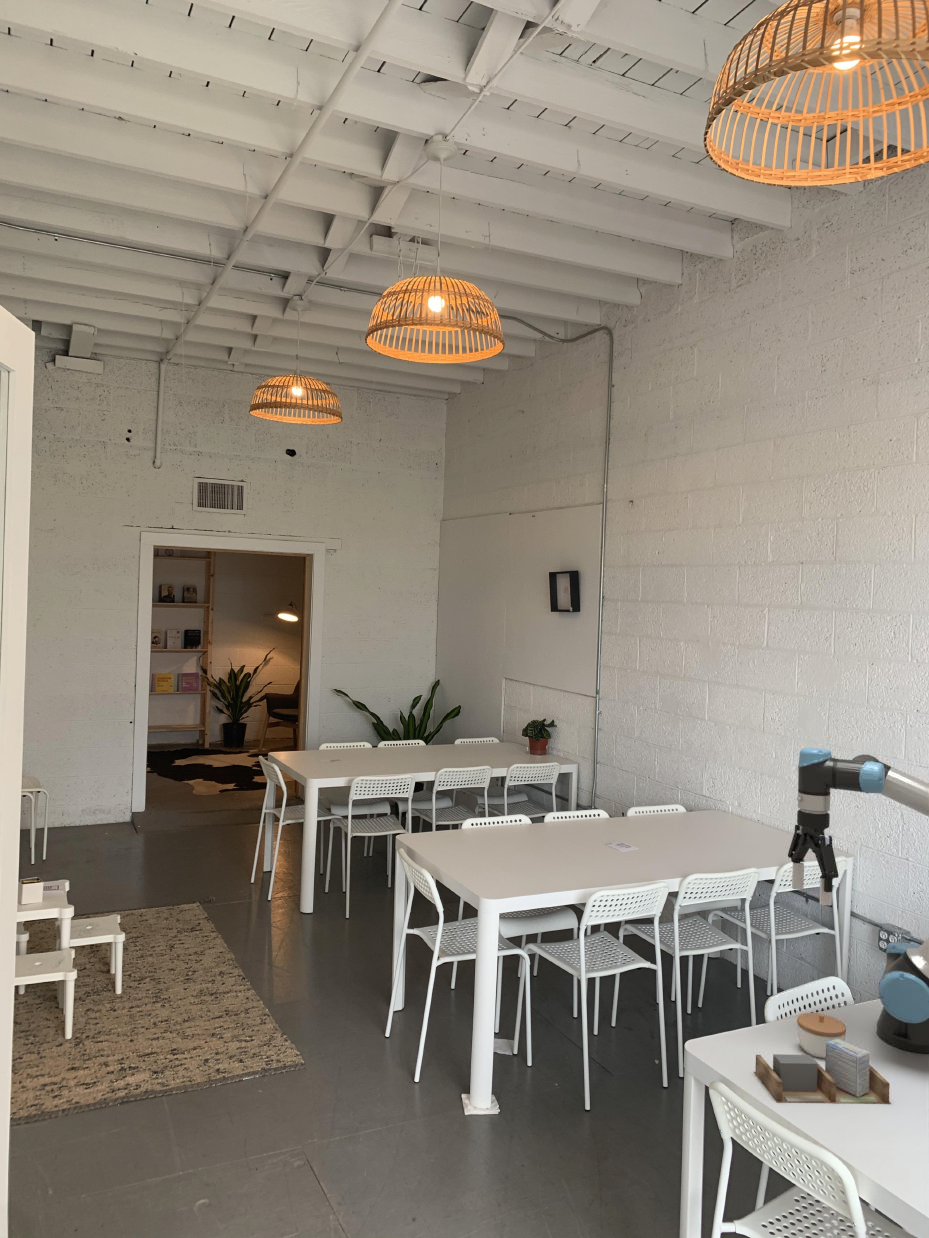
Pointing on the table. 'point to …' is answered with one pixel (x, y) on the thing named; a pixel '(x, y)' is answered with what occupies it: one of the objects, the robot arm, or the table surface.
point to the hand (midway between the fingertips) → (811, 896)
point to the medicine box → (848, 1067)
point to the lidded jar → (818, 1032)
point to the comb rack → (822, 1088)
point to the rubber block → (796, 1072)
